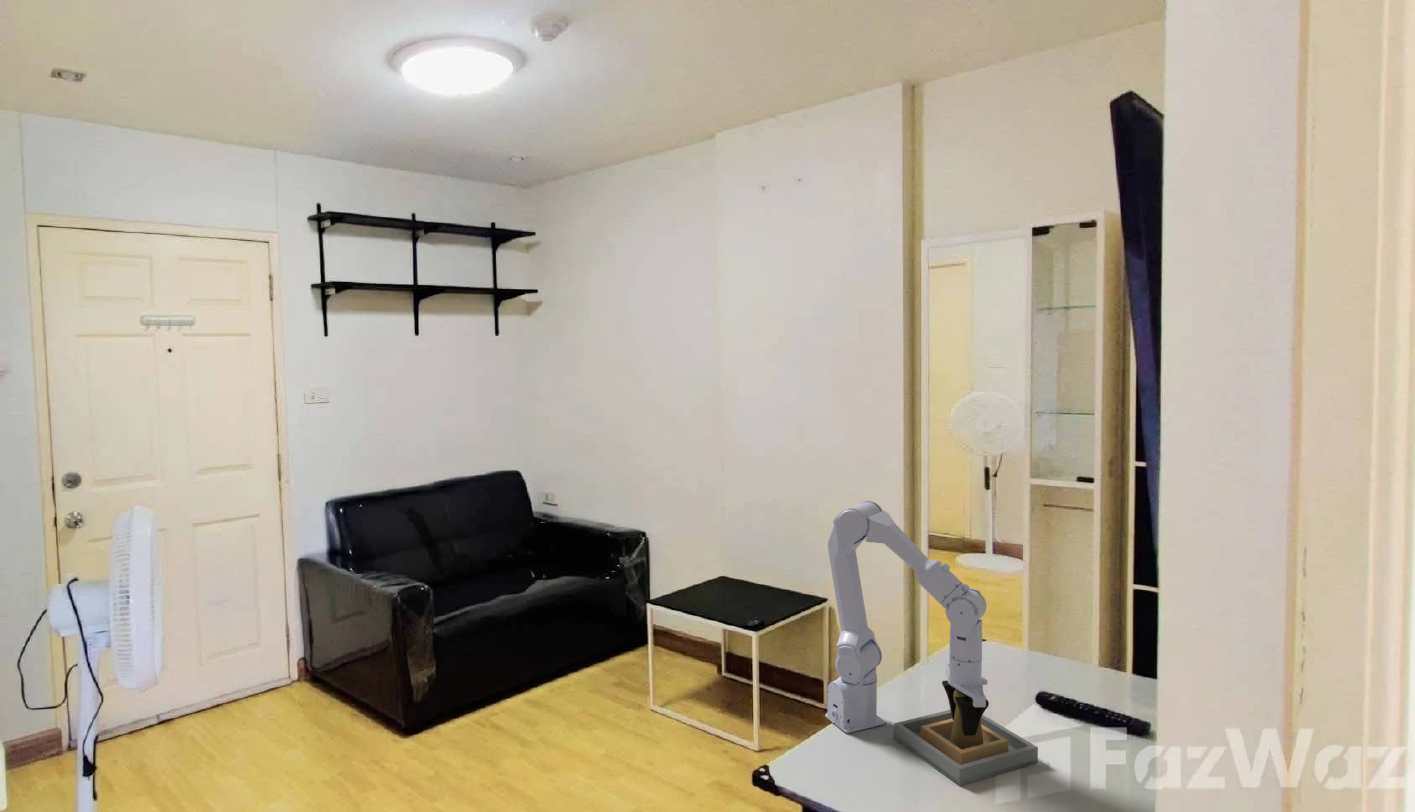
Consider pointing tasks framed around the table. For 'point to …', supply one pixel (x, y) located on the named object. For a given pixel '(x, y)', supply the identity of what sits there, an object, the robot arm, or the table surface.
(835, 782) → the table surface
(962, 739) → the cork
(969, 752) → the tray
